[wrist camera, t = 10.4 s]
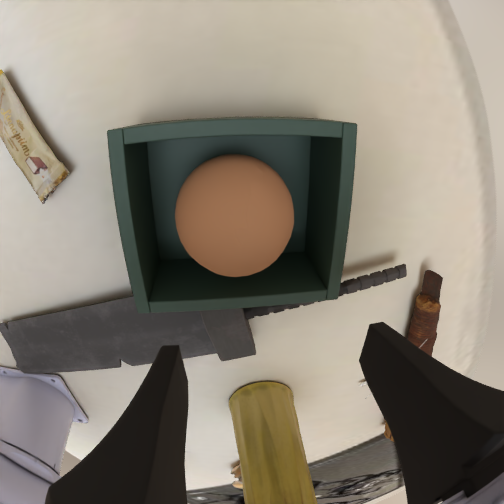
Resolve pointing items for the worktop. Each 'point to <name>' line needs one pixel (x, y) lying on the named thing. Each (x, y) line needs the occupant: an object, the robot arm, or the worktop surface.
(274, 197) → the egg
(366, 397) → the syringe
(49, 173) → the snack bar
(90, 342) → the flat dark sword
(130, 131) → the tote
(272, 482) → the vase
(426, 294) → the hand tool
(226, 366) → the worktop surface
